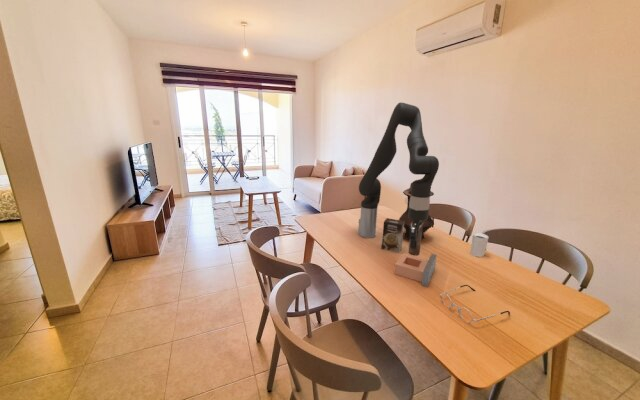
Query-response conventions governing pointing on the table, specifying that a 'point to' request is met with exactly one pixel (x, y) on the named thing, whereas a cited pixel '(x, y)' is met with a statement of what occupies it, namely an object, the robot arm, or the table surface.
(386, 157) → the robot arm
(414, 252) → the dowel
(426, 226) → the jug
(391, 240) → the coffee box
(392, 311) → the table surface
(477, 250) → the drinking glass
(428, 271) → the rail base
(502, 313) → the eyeglasses
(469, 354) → the table surface
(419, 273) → the holder
